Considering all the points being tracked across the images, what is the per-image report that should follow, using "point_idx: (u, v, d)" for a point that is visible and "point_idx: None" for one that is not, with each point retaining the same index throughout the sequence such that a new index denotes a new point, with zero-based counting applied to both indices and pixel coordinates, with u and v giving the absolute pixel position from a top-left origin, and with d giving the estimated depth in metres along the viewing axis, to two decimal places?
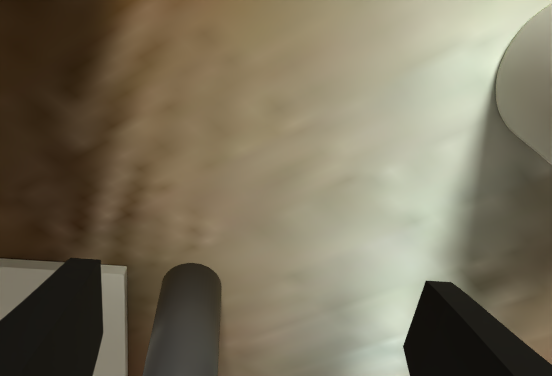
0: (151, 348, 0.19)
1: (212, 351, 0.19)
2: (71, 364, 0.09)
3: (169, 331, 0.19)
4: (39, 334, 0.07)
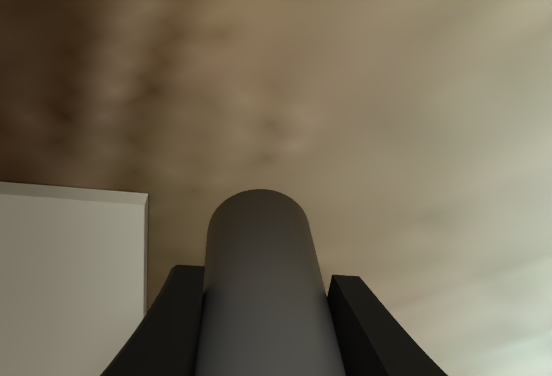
0: (209, 335, 0.09)
1: (335, 342, 0.09)
2: (192, 369, 0.09)
3: (245, 301, 0.09)
4: (181, 340, 0.08)
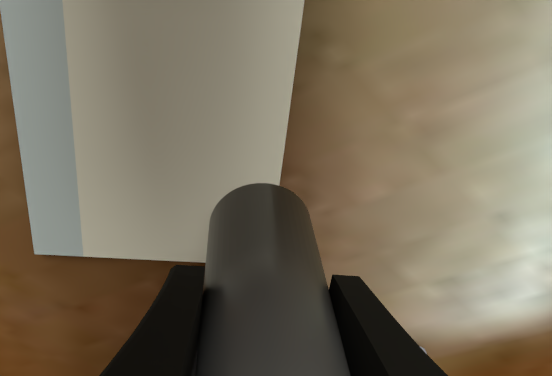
0: (214, 324, 0.09)
1: (339, 337, 0.09)
2: (191, 369, 0.09)
3: (252, 291, 0.09)
4: (181, 340, 0.08)
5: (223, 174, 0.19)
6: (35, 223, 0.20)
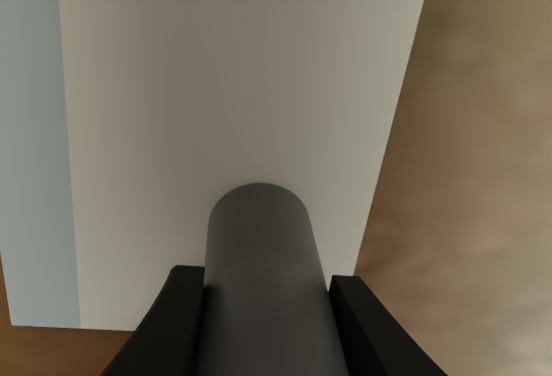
0: (213, 324, 0.09)
1: (338, 338, 0.09)
2: (191, 368, 0.09)
3: (252, 291, 0.09)
4: (181, 340, 0.08)
5: None
6: (13, 284, 0.14)
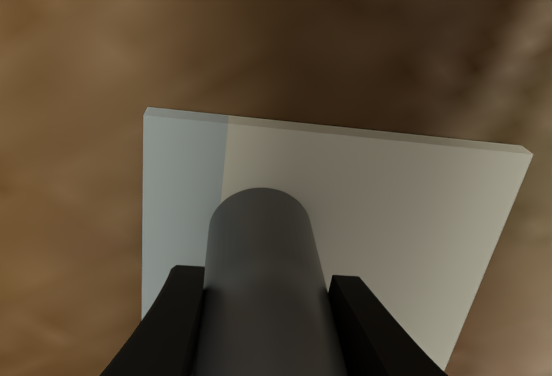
0: (212, 331, 0.09)
1: (340, 345, 0.09)
2: (191, 369, 0.09)
3: (252, 298, 0.09)
4: (181, 340, 0.08)
5: None
6: None
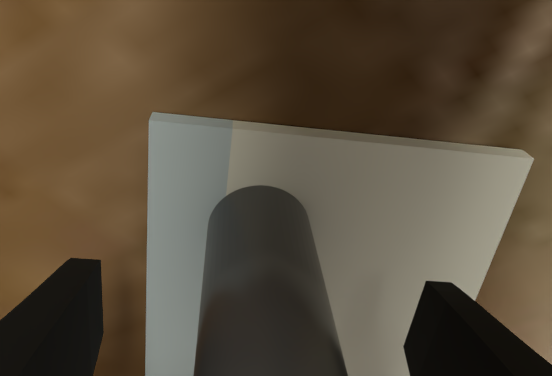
0: (212, 328, 0.09)
1: (338, 342, 0.09)
2: (71, 364, 0.09)
3: (251, 295, 0.09)
4: (39, 334, 0.07)
5: (383, 360, 0.16)
6: None
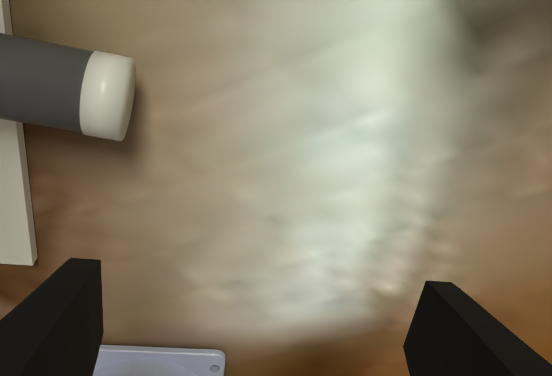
0: None
1: None
2: (71, 364, 0.09)
3: None
4: (39, 334, 0.07)
5: None
6: None
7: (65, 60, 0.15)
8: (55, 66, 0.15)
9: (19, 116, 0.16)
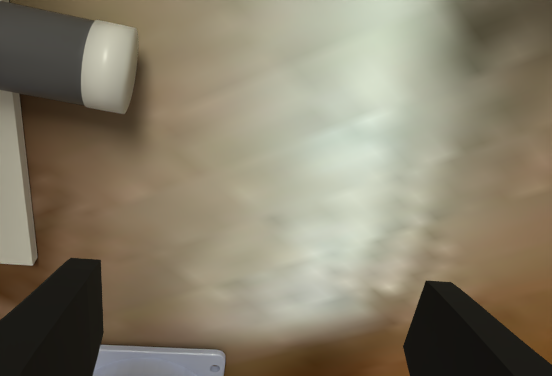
0: None
1: None
2: (71, 364, 0.09)
3: None
4: (39, 334, 0.07)
5: None
6: None
7: None
8: (65, 16, 0.15)
9: (15, 58, 0.15)
